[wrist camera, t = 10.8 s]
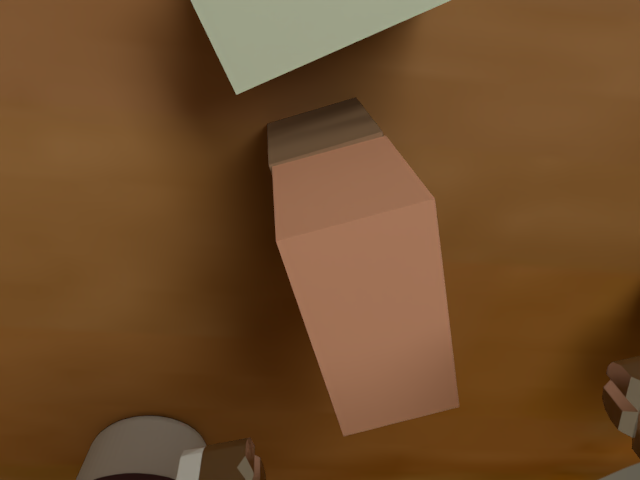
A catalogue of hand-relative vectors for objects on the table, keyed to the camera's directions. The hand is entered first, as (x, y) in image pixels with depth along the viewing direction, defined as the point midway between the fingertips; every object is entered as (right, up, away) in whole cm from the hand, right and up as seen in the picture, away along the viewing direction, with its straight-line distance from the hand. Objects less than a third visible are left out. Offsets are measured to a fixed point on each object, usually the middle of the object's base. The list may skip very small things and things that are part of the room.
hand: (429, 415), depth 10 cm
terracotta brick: (-1, +4, +7) cm, 8 cm away
